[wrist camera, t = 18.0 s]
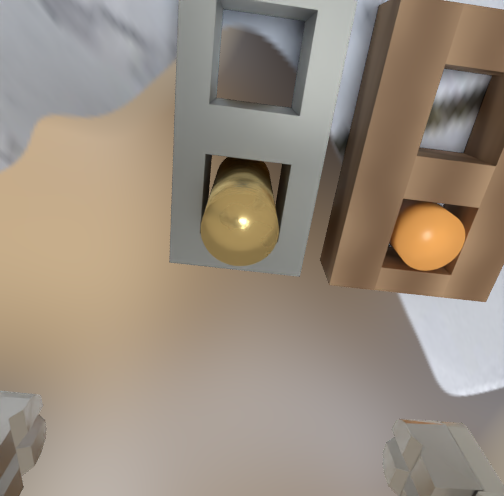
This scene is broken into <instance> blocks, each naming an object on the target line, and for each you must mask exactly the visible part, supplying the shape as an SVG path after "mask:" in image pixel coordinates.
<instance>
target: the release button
mask: <svg viewBox="0 0 504 496" xmlns="http://www.w3.org/2000/svg"><path fill="white" fill-rule="evenodd" d="M464 241H465V229H464V226H463V224H462V222H461V221H460V220H459V219H458V218H457V217H456V216H454V215H453V214H452V213H450V212H449V211H447V210H446V209H445V208H443V207H442V206H440V205H439V204H438V203H435V202H427V201H419V200H411V199H403V201H402V204H401V207H400V210H399V213H398V217H397V220H396V223H395V226H394V229H393V233H392V236H391V239H390V242H389V243H390V244H391V246H392V247H393V248H394V249H395V251H396V252H397V253H398V255H399V256H400V257H401V258H402V260H403V261H404V262H405V263H406V264H407V265H408V266H410V267H412V268H414V269H417V270H424V271H427V270H434V269H438V268H440V267H443V266H445V265H446V264H448V263H449V262H451V261H452V260H453V259H454V258H455V257H456V256H457V255H458V254H459V252H460V251H461V249H462V247H463V244H464Z"/></svg>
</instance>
